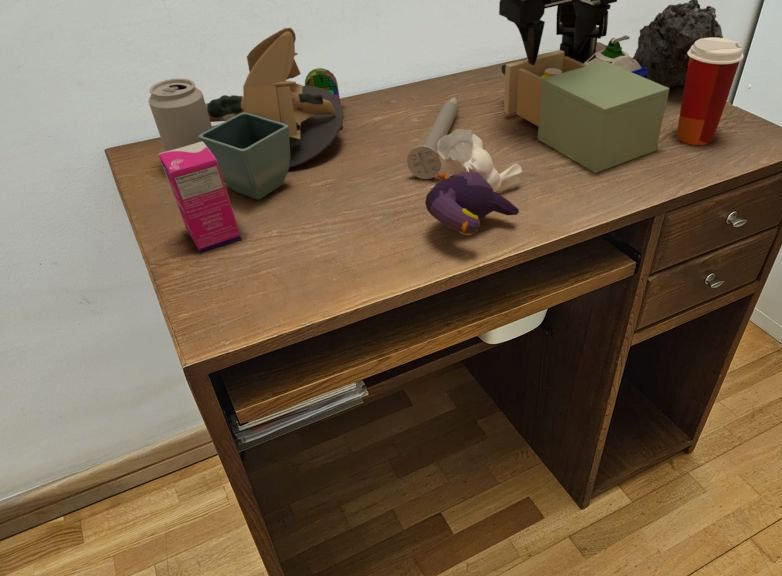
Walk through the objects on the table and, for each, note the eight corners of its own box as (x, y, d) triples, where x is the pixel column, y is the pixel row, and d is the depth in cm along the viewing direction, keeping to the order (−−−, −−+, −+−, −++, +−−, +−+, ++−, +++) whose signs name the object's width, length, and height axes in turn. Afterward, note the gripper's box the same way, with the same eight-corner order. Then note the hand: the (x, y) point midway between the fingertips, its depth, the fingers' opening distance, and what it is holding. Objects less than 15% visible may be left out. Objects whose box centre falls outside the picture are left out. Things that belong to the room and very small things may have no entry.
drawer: (486, 101, 112) (487, 55, 106) (538, 87, 116) (541, 41, 111) (550, 138, 101) (555, 89, 96) (604, 120, 105) (612, 72, 100)
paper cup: (714, 127, 105) (739, 36, 95) (724, 149, 99) (751, 54, 90) (665, 126, 105) (685, 35, 96) (672, 147, 100) (694, 53, 90)
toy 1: (227, 101, 107) (178, 15, 94) (343, 77, 105) (309, -14, 92) (216, 182, 97) (160, 99, 84) (343, 157, 95) (306, 68, 82)
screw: (445, 118, 114) (471, 111, 112) (414, 182, 95) (445, 174, 93) (436, 90, 111) (463, 82, 109) (401, 150, 92) (434, 142, 90)
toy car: (650, 96, 114) (661, 39, 107) (598, 111, 110) (606, 53, 103) (614, 79, 120) (623, 25, 113) (563, 93, 115) (569, 37, 109)
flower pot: (259, 211, 89) (243, 150, 82) (214, 195, 92) (195, 135, 86) (301, 183, 94) (289, 124, 88) (257, 169, 97) (243, 111, 91)
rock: (714, 107, 111) (743, 14, 100) (633, 104, 112) (653, 10, 101) (695, 71, 123) (719, -17, 112) (623, 68, 123) (639, -19, 113)
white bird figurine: (468, 171, 81) (505, 218, 88) (507, 126, 82) (541, 177, 88) (421, 151, 90) (457, 195, 97) (456, 110, 90) (490, 157, 97)
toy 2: (490, 239, 88) (524, 213, 83) (438, 257, 80) (472, 228, 75) (450, 172, 89) (481, 142, 84) (394, 182, 80) (425, 149, 76)
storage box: (537, 139, 103) (542, 78, 96) (596, 119, 108) (604, 60, 101) (595, 173, 95) (604, 109, 88) (656, 150, 99) (669, 88, 93)
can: (230, 155, 101) (209, 78, 92) (203, 178, 96) (178, 98, 87) (190, 149, 103) (165, 72, 94) (160, 171, 97) (132, 92, 89)
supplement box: (185, 233, 85) (156, 151, 77) (229, 219, 87) (205, 139, 79) (197, 254, 81) (168, 171, 73) (243, 239, 84) (219, 157, 76)
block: (294, 111, 113) (286, 71, 108) (340, 106, 114) (334, 66, 109) (292, 139, 104) (284, 97, 99) (343, 134, 105) (336, 92, 100)
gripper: (577, -75, 99) (566, 33, 110) (478, -58, 92) (477, 55, 103) (628, -62, 92) (612, 51, 103) (526, -43, 85) (519, 77, 96)
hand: (554, 58), depth 101 cm, fingers open, 9 cm apart
